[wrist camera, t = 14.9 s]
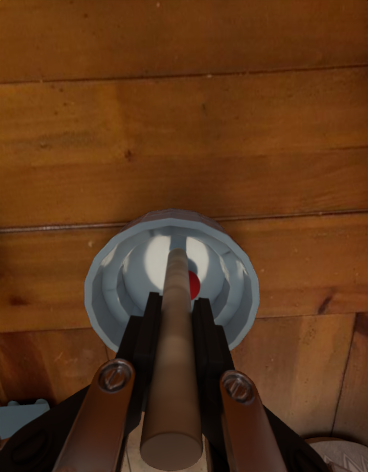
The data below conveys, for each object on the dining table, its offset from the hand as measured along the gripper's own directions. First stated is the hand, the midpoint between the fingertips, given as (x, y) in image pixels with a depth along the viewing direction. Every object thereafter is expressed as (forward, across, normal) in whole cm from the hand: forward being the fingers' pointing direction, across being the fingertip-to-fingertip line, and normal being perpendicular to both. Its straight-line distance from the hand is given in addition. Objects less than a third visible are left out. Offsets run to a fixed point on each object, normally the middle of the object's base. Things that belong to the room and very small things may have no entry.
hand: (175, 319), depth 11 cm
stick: (+9, 0, 0) cm, 9 cm away
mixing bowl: (+10, 0, +3) cm, 10 cm away
